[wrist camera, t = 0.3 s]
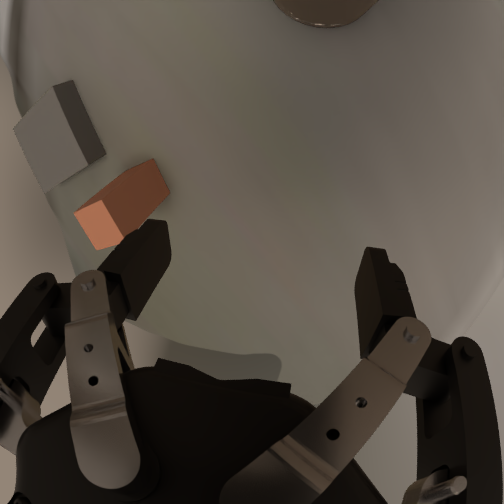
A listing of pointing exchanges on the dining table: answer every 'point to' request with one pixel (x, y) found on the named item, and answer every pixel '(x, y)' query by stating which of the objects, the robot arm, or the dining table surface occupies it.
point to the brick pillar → (122, 205)
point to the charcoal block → (58, 136)
